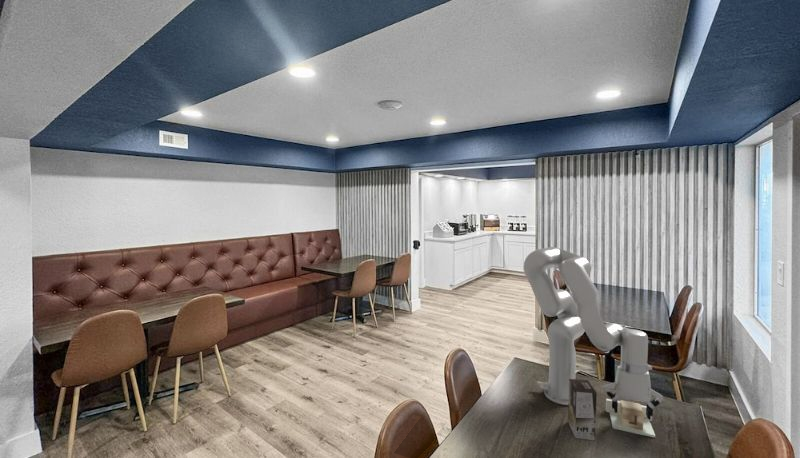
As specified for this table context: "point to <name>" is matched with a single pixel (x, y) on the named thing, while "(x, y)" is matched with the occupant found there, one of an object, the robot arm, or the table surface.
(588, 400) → the coffee box
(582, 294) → the robot arm
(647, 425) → the sage pad
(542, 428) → the table surface
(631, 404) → the maple cube
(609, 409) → the cream screen
